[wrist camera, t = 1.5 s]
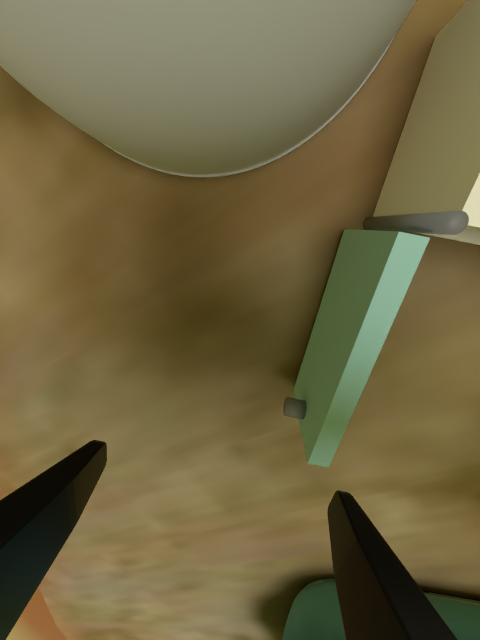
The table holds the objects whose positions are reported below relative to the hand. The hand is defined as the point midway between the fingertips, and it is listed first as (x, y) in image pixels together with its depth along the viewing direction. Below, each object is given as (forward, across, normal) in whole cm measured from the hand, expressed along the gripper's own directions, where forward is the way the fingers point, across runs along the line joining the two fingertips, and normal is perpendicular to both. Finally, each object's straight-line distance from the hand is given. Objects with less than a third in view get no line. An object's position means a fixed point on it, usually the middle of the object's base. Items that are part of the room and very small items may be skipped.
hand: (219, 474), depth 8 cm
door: (+12, -5, -2) cm, 13 cm away
